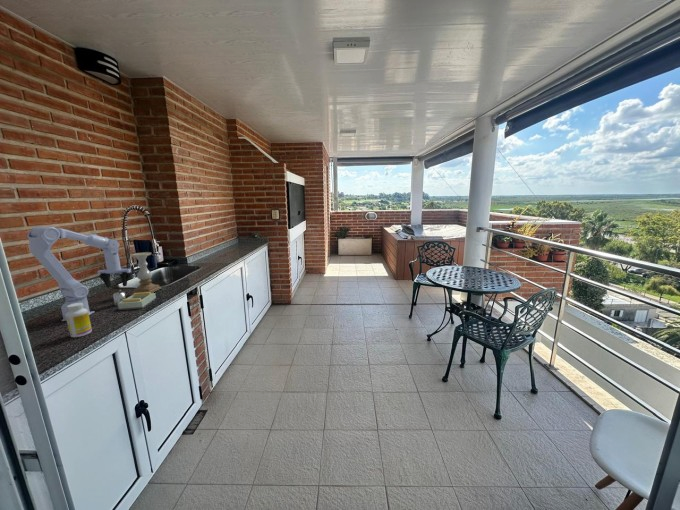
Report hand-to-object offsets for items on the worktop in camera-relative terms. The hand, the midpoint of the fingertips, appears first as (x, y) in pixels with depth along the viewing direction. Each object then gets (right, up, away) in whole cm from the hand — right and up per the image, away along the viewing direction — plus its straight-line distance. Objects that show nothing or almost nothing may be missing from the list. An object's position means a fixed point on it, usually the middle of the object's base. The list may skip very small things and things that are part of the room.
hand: (117, 286), depth 146 cm
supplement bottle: (+13, -16, -33) cm, 39 cm away
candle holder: (+2, -6, +20) cm, 21 cm away
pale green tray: (+12, -9, -1) cm, 15 cm away
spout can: (+2, -10, +1) cm, 10 cm away
